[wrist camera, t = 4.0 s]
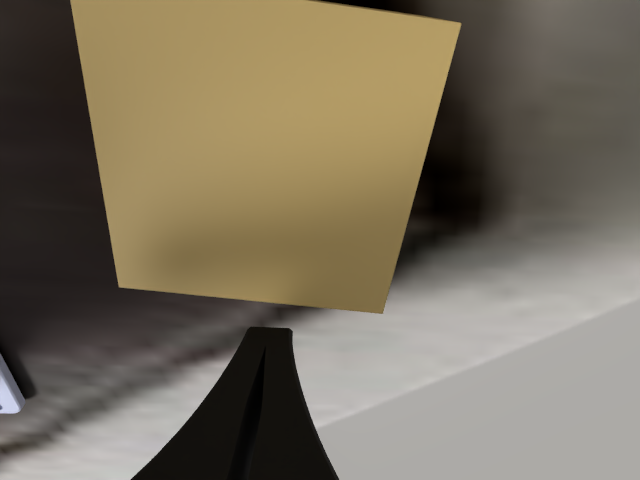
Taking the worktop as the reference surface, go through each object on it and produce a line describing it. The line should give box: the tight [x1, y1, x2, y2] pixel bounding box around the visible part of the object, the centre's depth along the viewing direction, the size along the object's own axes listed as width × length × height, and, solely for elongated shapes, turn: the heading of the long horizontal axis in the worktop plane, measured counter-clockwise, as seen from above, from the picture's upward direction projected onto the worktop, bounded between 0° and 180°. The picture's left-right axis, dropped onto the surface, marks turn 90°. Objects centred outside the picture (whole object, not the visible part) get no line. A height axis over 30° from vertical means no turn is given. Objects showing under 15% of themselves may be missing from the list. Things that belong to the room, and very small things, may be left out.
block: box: [70, 0, 461, 314], centre depth 10 cm, size 7×7×4 cm
